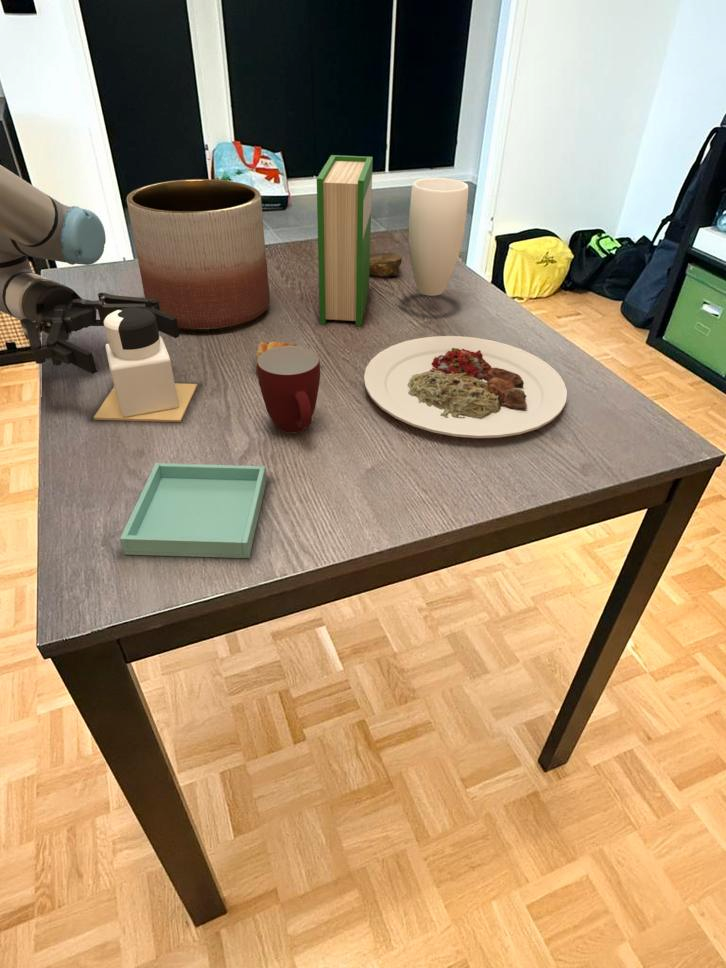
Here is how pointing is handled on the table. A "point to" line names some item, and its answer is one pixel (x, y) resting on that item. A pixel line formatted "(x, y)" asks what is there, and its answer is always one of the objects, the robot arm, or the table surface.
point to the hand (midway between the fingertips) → (136, 345)
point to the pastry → (269, 347)
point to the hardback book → (344, 237)
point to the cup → (436, 231)
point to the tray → (196, 511)
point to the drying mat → (113, 412)
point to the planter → (201, 251)
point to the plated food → (465, 386)
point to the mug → (289, 385)
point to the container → (139, 362)
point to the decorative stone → (384, 264)
